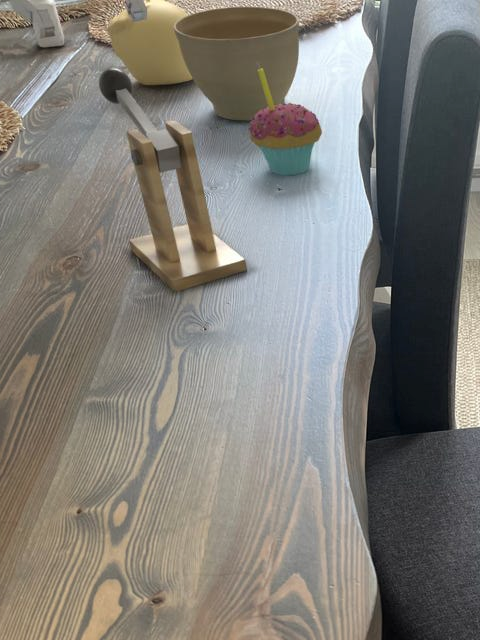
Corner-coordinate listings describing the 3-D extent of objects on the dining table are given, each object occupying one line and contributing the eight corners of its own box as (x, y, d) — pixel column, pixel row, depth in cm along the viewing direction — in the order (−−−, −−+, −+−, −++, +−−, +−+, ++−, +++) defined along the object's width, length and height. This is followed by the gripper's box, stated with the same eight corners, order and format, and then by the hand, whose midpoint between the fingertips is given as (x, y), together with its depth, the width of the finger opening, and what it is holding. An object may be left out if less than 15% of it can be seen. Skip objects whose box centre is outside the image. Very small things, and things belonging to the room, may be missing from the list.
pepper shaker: (65, 46, 163) (46, -22, 156) (39, 49, 162) (19, -20, 156) (65, 40, 166) (46, -28, 159) (40, 42, 165) (20, -26, 158)
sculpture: (154, 66, 155) (136, -16, 147) (222, 73, 151) (206, -10, 144) (110, 89, 147) (88, 4, 140) (179, 97, 144) (161, 10, 136)
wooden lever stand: (131, 250, 108) (97, 123, 99) (200, 231, 111) (173, 106, 102) (174, 292, 101) (141, 158, 92) (247, 270, 104) (222, 139, 95)
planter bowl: (264, 138, 131) (249, 44, 124) (168, 121, 137) (147, 30, 129) (332, 100, 141) (321, 12, 134) (239, 86, 147) (224, 0, 139)
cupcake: (266, 186, 120) (247, 75, 111) (247, 162, 125) (228, 55, 117) (334, 173, 122) (321, 64, 114) (313, 151, 128) (299, 44, 119)
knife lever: (96, 95, 103) (91, 64, 100) (126, 88, 104) (121, 58, 102) (155, 178, 98) (151, 148, 96) (186, 170, 100) (183, 140, 97)
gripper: (-83, -123, 92) (-14, 22, 93) (132, -147, 99) (193, -13, 101) (-75, -72, 97) (-10, 64, 99) (128, -99, 105) (186, 28, 106)
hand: (94, 25), depth 100 cm, fingers open, 8 cm apart
